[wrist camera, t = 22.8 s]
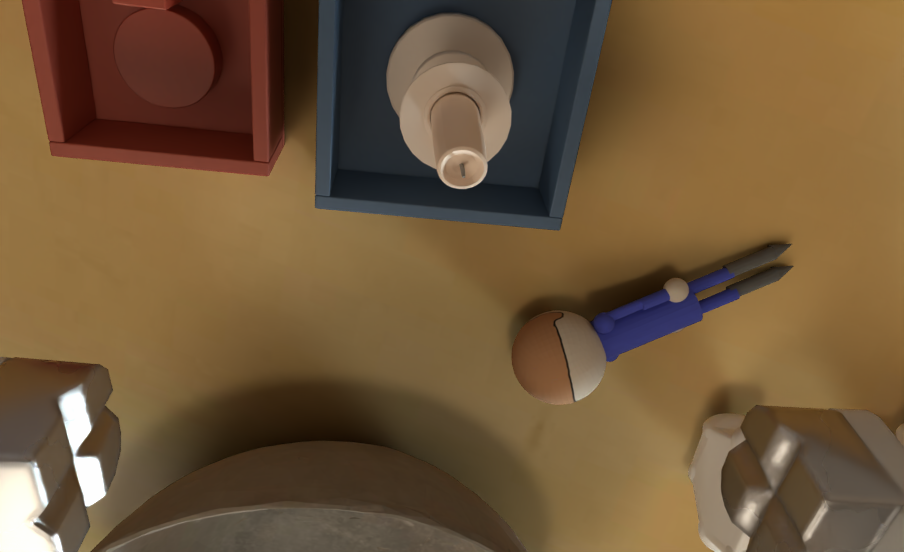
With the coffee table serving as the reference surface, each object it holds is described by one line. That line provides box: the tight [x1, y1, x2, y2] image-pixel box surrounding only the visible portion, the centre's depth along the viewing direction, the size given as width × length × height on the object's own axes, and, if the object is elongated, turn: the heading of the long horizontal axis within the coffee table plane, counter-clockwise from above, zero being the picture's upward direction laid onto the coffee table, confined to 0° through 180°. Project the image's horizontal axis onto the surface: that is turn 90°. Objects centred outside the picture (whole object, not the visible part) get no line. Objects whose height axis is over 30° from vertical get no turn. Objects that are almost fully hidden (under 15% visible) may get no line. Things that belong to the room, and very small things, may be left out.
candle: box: [386, 12, 514, 189], centre depth 23 cm, size 5×5×10 cm
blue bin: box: [315, 0, 612, 230], centre depth 27 cm, size 10×10×4 cm
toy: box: [512, 244, 793, 405], centre depth 33 cm, size 5×5×15 cm
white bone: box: [688, 413, 904, 552], centre depth 37 cm, size 15×9×8 cm, turn 85°
